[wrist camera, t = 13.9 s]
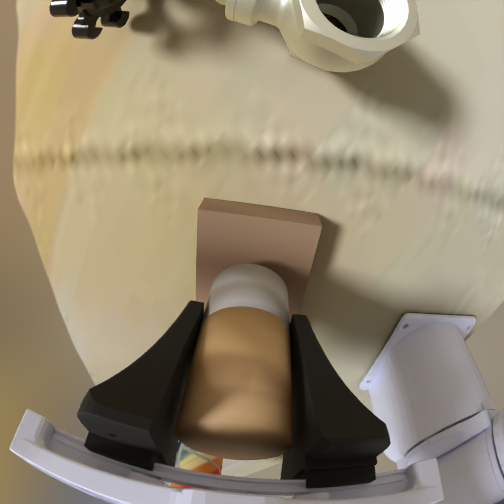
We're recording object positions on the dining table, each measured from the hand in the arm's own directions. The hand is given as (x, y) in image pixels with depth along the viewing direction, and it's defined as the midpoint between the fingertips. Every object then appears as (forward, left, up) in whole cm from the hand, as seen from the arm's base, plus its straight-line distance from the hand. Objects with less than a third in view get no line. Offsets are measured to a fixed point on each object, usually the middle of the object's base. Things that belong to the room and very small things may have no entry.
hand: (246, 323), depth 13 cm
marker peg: (0, 0, -2) cm, 2 cm away
